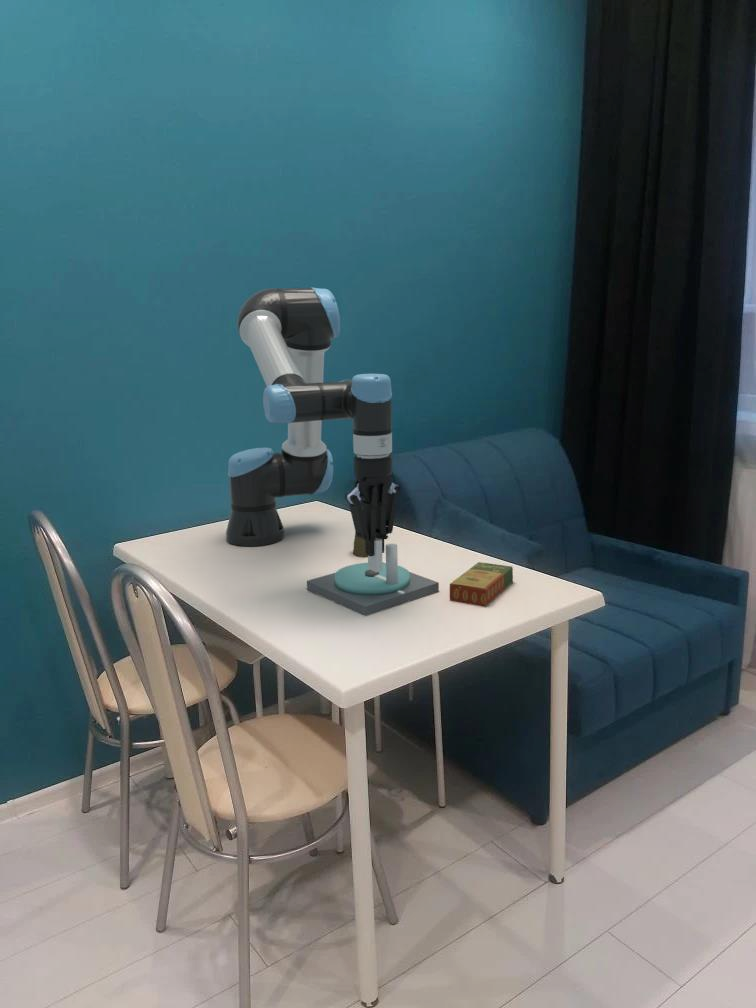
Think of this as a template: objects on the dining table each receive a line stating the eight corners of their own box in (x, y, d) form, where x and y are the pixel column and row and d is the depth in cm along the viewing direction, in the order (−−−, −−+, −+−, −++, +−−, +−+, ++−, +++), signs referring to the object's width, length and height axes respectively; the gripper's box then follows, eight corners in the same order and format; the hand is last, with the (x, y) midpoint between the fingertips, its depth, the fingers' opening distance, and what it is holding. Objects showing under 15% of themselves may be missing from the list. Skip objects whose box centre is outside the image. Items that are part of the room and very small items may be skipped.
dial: (319, 580, 167) (318, 538, 165) (376, 564, 177) (376, 523, 175) (366, 600, 155) (365, 555, 153) (425, 581, 165) (425, 538, 163)
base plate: (307, 589, 168) (306, 579, 167) (378, 568, 180) (378, 559, 180) (365, 616, 153) (365, 605, 152) (438, 591, 165) (438, 581, 165)
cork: (378, 549, 194) (377, 507, 192) (376, 557, 188) (375, 513, 186) (354, 549, 195) (353, 507, 192) (351, 557, 189) (350, 513, 186)
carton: (448, 602, 160) (448, 582, 159) (477, 578, 174) (477, 560, 173) (486, 608, 157) (486, 588, 156) (513, 583, 170) (513, 565, 169)
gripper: (358, 462, 145) (361, 582, 151) (410, 452, 153) (411, 567, 159) (334, 456, 150) (338, 572, 156) (386, 448, 158) (387, 558, 164)
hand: (375, 569), depth 157 cm, fingers closed
